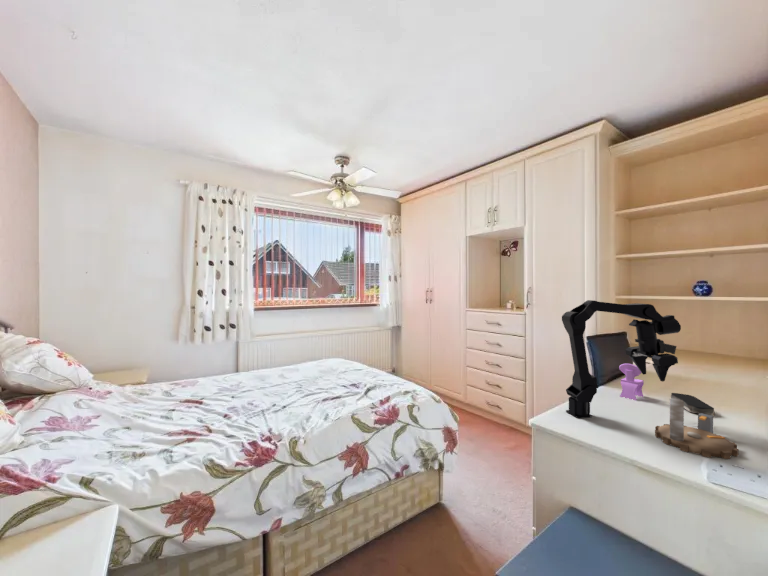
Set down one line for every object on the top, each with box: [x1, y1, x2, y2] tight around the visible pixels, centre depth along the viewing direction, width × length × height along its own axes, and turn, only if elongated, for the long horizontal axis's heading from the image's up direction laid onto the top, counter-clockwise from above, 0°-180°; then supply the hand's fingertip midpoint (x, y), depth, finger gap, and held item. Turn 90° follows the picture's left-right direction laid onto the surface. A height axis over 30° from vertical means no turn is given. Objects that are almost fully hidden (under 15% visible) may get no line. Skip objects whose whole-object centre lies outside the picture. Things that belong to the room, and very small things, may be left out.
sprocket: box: [654, 397, 739, 460], centre depth 101 cm, size 19×19×14 cm
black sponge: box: [670, 392, 715, 417], centre depth 130 cm, size 16×8×4 cm, turn 160°
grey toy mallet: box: [697, 413, 714, 433], centre depth 107 cm, size 3×6×6 cm, turn 123°
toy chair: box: [618, 363, 645, 401], centre depth 143 cm, size 8×9×15 cm
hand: (653, 377), depth 121 cm, fingers open, 9 cm apart
